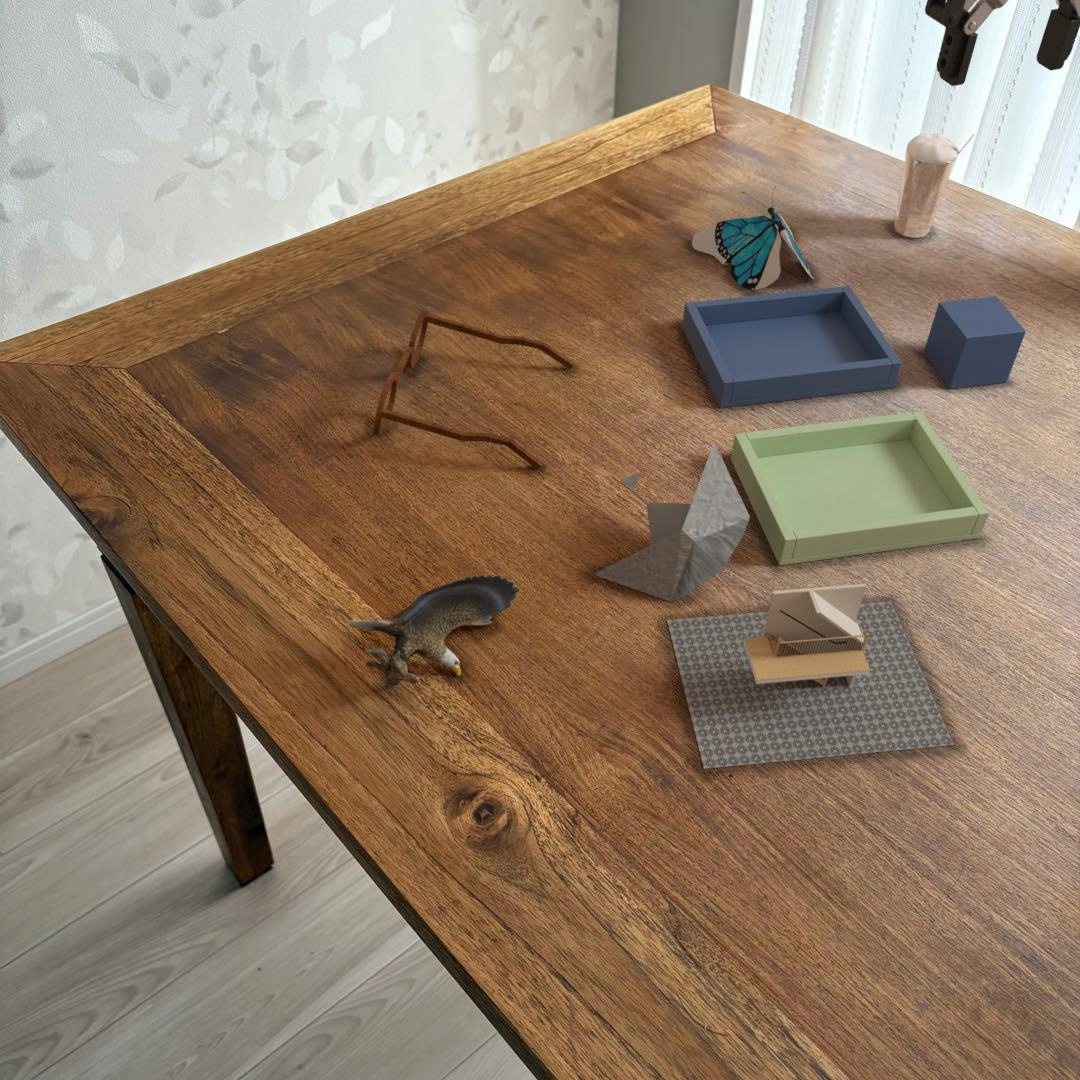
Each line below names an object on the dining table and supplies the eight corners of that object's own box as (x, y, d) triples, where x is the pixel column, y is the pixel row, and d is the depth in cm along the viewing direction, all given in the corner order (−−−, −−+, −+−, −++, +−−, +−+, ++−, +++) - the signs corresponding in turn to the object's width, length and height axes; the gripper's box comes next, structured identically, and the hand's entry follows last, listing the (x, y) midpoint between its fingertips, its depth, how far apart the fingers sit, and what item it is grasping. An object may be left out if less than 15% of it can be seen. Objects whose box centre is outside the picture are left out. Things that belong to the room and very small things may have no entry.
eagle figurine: (455, 727, 65) (545, 615, 68) (382, 645, 61) (480, 532, 65) (388, 707, 71) (474, 605, 74) (319, 630, 67) (412, 528, 71)
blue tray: (843, 310, 97) (849, 285, 95) (895, 388, 89) (902, 362, 87) (681, 327, 95) (684, 302, 93) (719, 408, 87) (723, 383, 85)
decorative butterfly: (746, 267, 94) (703, 186, 99) (728, 319, 100) (689, 239, 104) (852, 248, 96) (805, 170, 101) (829, 300, 102) (786, 223, 106)
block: (978, 346, 93) (996, 295, 89) (1007, 382, 90) (1026, 331, 86) (922, 352, 92) (938, 301, 89) (949, 389, 89) (966, 337, 85)
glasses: (420, 348, 93) (416, 296, 89) (574, 367, 91) (576, 316, 87) (372, 449, 84) (365, 397, 80) (542, 473, 82) (542, 420, 78)
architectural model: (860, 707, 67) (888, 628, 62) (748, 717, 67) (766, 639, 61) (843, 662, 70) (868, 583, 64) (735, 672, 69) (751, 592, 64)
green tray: (913, 436, 85) (921, 410, 83) (979, 538, 77) (990, 512, 75) (730, 459, 83) (734, 433, 81) (779, 565, 75) (785, 540, 74)
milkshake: (941, 247, 104) (971, 145, 97) (883, 237, 105) (909, 135, 98) (946, 224, 107) (976, 123, 100) (890, 214, 108) (915, 114, 101)
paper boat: (654, 632, 70) (551, 536, 72) (664, 641, 76) (569, 552, 78) (785, 492, 70) (677, 400, 72) (784, 512, 76) (685, 427, 78)
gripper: (1019, -158, 66) (946, 109, 78) (1210, -178, 69) (1113, 81, 81) (946, -188, 71) (888, 66, 82) (1128, -206, 74) (1048, 42, 86)
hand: (1000, 73), depth 82 cm, fingers open, 8 cm apart
